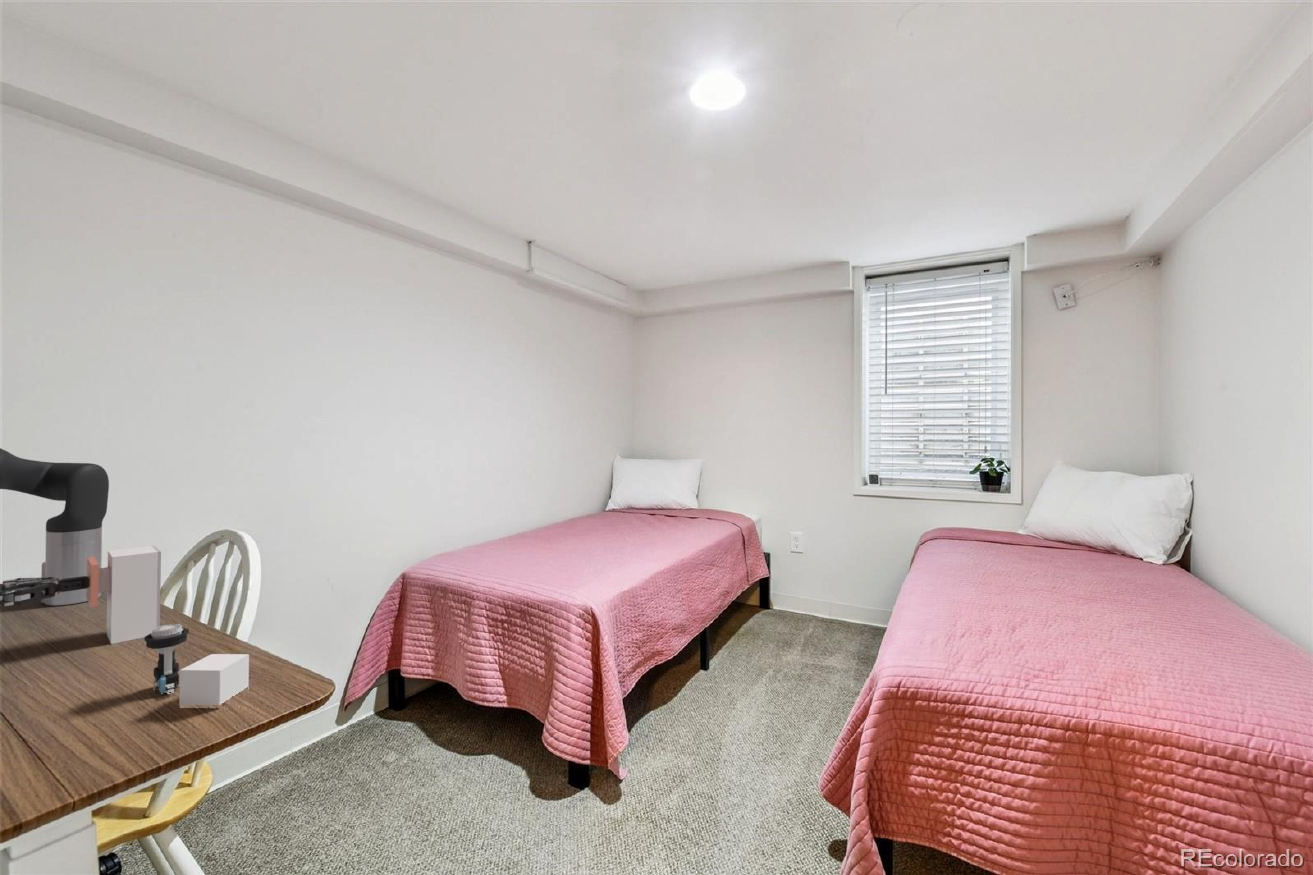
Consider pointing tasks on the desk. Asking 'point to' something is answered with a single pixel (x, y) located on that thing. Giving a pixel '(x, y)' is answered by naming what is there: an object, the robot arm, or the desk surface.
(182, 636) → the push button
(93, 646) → the desk surface
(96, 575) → the plug
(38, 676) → the desk surface
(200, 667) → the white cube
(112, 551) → the socket block
